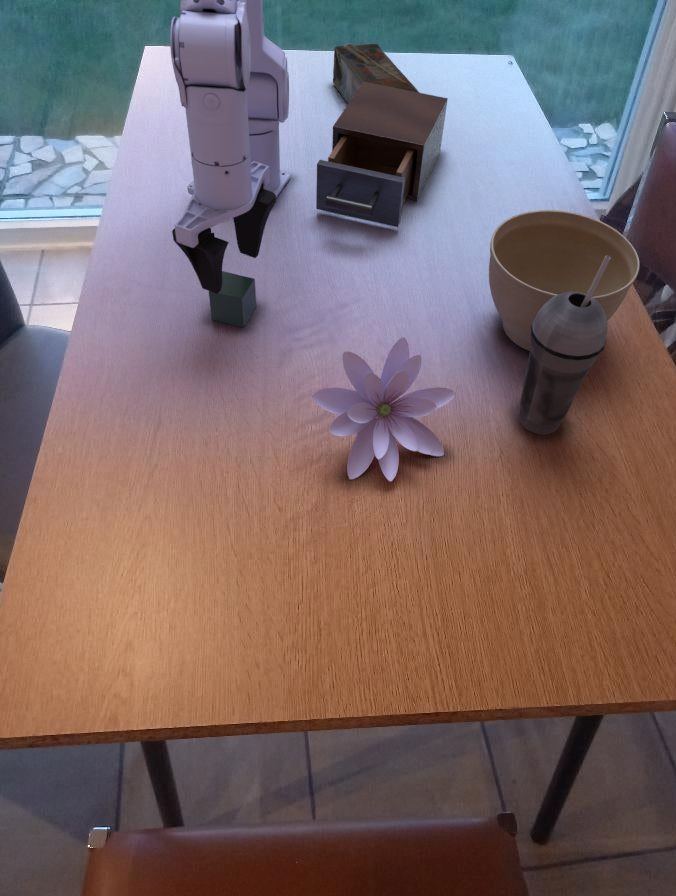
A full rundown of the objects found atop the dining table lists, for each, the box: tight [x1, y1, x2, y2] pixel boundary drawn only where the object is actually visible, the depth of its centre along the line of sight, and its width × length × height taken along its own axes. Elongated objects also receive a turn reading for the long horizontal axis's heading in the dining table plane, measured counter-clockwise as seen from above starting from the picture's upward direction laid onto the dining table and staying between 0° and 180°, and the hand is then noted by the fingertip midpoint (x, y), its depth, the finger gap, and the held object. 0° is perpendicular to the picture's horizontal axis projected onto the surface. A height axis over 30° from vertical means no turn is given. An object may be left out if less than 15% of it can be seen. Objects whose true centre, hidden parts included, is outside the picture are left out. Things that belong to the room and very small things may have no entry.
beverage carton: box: [332, 42, 421, 105], centre depth 122 cm, size 8×19×7 cm, turn 20°
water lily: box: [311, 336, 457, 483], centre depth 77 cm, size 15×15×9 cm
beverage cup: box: [518, 256, 610, 435], centre depth 75 cm, size 7×7×20 cm
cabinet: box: [331, 82, 448, 203], centre depth 110 cm, size 15×13×8 cm
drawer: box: [315, 134, 418, 228], centre depth 103 cm, size 18×11×6 cm, turn 164°
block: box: [208, 270, 257, 328], centre depth 89 cm, size 4×4×4 cm
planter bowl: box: [488, 209, 640, 352], centre depth 88 cm, size 16×16×11 cm
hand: (230, 271), depth 86 cm, fingers open, 7 cm apart
